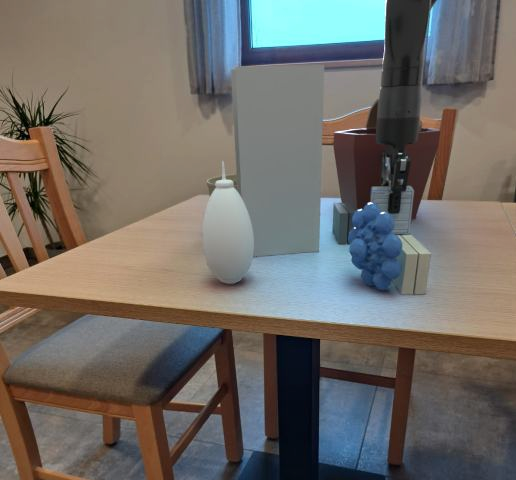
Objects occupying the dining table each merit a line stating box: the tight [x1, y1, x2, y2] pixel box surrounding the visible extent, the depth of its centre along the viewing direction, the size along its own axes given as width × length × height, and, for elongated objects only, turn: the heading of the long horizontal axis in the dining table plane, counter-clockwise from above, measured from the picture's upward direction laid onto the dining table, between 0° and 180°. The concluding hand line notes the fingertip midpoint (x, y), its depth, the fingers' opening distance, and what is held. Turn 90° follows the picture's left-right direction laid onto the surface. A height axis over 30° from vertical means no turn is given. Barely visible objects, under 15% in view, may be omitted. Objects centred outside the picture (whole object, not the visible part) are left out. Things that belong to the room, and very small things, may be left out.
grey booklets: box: [332, 202, 356, 245], centre depth 93 cm, size 3×10×6 cm, turn 179°
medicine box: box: [370, 186, 414, 235], centre depth 92 cm, size 8×4×9 cm, turn 80°
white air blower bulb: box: [201, 160, 254, 285], centre depth 69 cm, size 8×8×18 cm
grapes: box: [348, 203, 403, 291], centre depth 67 cm, size 12×7×12 cm, turn 23°
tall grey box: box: [230, 64, 325, 258], centre depth 81 cm, size 14×6×30 cm, turn 100°
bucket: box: [332, 98, 441, 221], centre depth 105 cm, size 24×22×25 cm
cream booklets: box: [392, 234, 432, 296], centre depth 69 cm, size 3×10×6 cm, turn 179°
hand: (390, 210), depth 92 cm, fingers closed on medicine box, 5 cm apart
